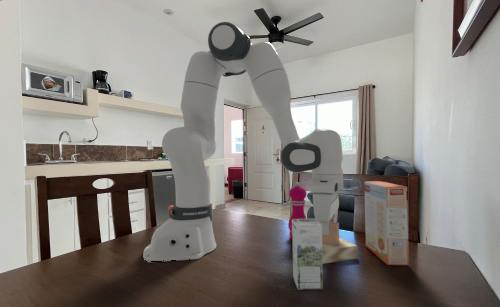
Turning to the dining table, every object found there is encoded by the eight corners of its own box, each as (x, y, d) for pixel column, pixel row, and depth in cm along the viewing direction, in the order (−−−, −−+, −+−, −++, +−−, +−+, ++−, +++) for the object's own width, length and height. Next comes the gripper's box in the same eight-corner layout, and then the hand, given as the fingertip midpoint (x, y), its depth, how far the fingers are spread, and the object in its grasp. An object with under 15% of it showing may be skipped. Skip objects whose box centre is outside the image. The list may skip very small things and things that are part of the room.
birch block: (323, 265, 66) (322, 250, 66) (304, 250, 77) (303, 237, 77) (357, 259, 69) (357, 245, 69) (334, 246, 80) (334, 233, 80)
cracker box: (410, 266, 63) (408, 186, 64) (386, 266, 64) (384, 186, 64) (384, 246, 77) (382, 180, 78) (365, 246, 78) (363, 180, 78)
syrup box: (316, 277, 59) (314, 217, 59) (323, 290, 53) (322, 224, 53) (292, 277, 59) (291, 217, 59) (297, 291, 53) (295, 224, 53)
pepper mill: (310, 242, 83) (308, 183, 83) (288, 241, 84) (287, 183, 84) (308, 235, 90) (307, 180, 90) (288, 234, 91) (287, 180, 91)
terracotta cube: (337, 245, 70) (336, 227, 70) (319, 242, 72) (318, 225, 72) (339, 239, 74) (338, 223, 74) (322, 237, 77) (321, 221, 77)
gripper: (323, 179, 84) (324, 219, 84) (308, 187, 66) (310, 238, 66) (342, 180, 81) (344, 221, 81) (333, 188, 63) (334, 241, 63)
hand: (328, 229), depth 73 cm, fingers open, 8 cm apart
